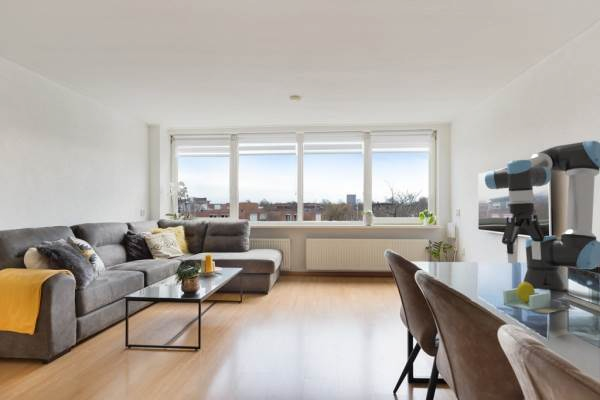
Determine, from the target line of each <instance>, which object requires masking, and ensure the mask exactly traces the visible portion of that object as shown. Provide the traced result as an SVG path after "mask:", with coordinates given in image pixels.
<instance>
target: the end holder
mask: <svg viewBox="0 0 600 400" xmlns="http://www.w3.org/2000/svg"><path fill="white" fill-rule="evenodd" d="M502 293H503V296H502V297H503V305H505V306H509V307H513V308H517V307H518V309H521V308H522V309H523V310H525V309H526V311H529V310H530V312H534V311H535V310H540V309H544V308H548V307H550V306H551V305H550V300H551V293H550V292H549V291H547V292H541V293H540V292H539V293H540V294H535V295H530V296H529V303H528V304H526V303H525V302H523V301H522V300H520V299H519V297H518V295H517V287H515V288H511V289H510V288H509V289H504V290H502Z"/></svg>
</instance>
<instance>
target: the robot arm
mask: <svg viewBox="0 0 600 400" xmlns="http://www.w3.org/2000/svg"><path fill="white" fill-rule="evenodd" d="M506 165H507V167H504V168H503V169H499V170H493V171H492V170H491V171H489V172H487V173H486V174H485V177H484V184H485V186H486V188H488V189H490V190H499V189H501V190H502V189H503V190H504V189H508V197H509V199H508V201H509V206H508V207H509V213H510V214H512V216H506V224H505V227H504V231H503V234H502V235H503V236H502V239H501V243H502V244H503V245H506V253H507V262H508V264H515V265H516V264H518V261H517V245H516V244H515V242H516V241H517V238H518V236H519V234H520V232H521V230H523V229H525V230H526V232H527V233H528V235H529V237H528V238H526V240H525V255H526V258H525V259H526V272H525V276H524V279H523V282H524V281H526V282H527V283H529V284H531V285H532V286H533V288H534V290H536V289H540V290H554V291H558V292H563V291H565V289H566V288H565V283H564V282H563V281H564V280H563V278H562V276H561V274H560V272H559V267H563V268H571V269H572V268H573V269H580V270H584V269H585V270H593V269H596V268H597V267H598V266H599V264H600V240H597V236H596V235H595V234H594V233H593V216H594V196H595V177H596V176H597V175H599V174H600V142H599V141H598V140H589V141H588V140H587V141H586V140H585V141H584V140H583V141H582V142H574V143H569V144H562V145H560V144H559V145H555V146H553V147H550V148H547V149H545V150H541V151H540V152H537V153H534V154H533V155H532V156H531V157H530V158H527V159H517V160H512V161H509V162H508V163H507V164H506ZM554 172H564V174H565V175H566V176H568V188H567V189H568V190H567V204H566V205H567V206H566V224H565V231H564V232H562V233H561V234H560V238H558V236H557V235H545V236H544V232H543V231H542V230H543V229H542V227H541V225H540V222H539V219H538V215H537V214H533V213H535V206H534V205H535V204H534V203H533V202H534V188H533V187H543V186H546V185H548V184H549V182H550V181H551V180H552V173H554ZM523 282H522V283H523Z"/></svg>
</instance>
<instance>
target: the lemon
mask: <svg viewBox="0 0 600 400" xmlns="http://www.w3.org/2000/svg"><path fill="white" fill-rule="evenodd" d="M523 281H524V280H523ZM516 288H517V295H518V297H519V299H520V300H522V301H523V302H525V303H526V304H528V303H529V296H530V295H535V293H536V291H535V290H536V289H534V288H533V286H532V285H531V284H529V283H527V282H526V281H524V282H520V283H519V284H518V285H517V287H516Z"/></svg>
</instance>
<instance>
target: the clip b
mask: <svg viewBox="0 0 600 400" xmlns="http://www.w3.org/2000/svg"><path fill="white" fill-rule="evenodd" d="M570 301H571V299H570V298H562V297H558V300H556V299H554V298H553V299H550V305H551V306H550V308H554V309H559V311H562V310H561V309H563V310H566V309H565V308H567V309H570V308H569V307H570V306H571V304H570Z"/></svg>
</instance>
